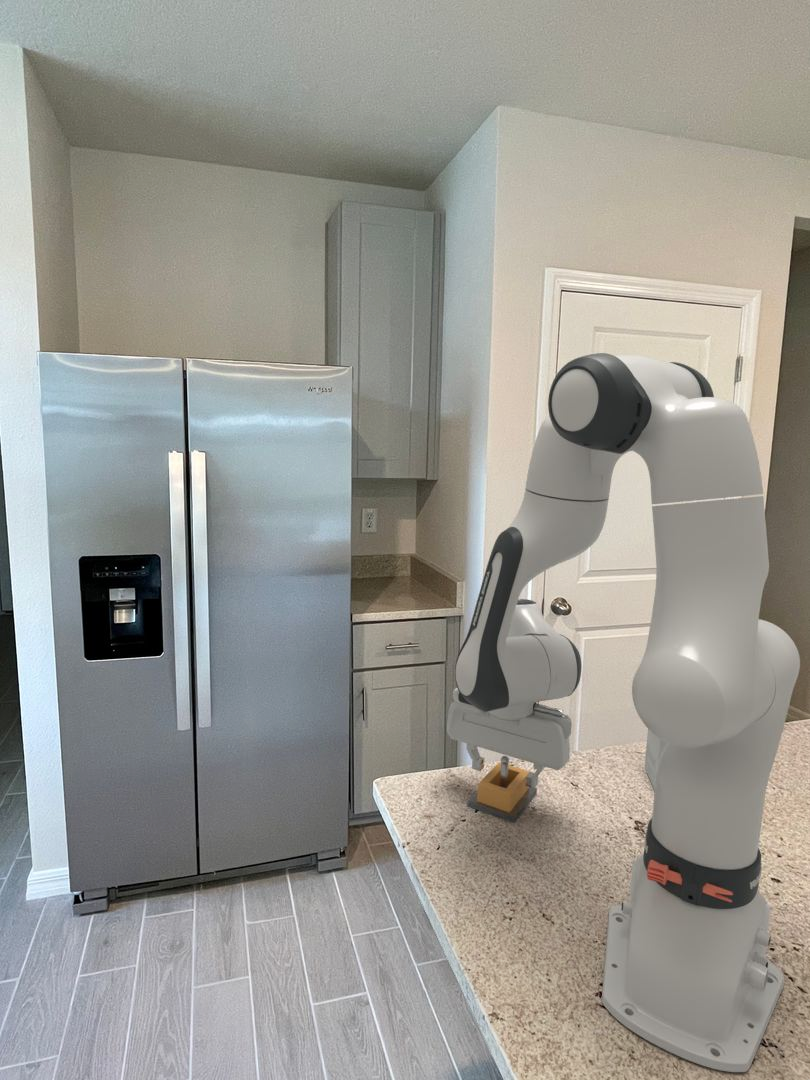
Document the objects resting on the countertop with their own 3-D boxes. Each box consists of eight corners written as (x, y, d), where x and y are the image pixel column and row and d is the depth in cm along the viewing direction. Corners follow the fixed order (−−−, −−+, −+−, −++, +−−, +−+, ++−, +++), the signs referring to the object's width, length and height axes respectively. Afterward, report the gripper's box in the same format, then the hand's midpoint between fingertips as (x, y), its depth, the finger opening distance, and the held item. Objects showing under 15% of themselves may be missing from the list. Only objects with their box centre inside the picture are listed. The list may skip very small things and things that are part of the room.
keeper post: (513, 822, 99) (516, 776, 98) (467, 806, 103) (469, 761, 102) (536, 793, 108) (539, 751, 107) (492, 779, 112) (495, 738, 111)
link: (509, 812, 100) (510, 794, 100) (477, 801, 103) (477, 784, 103) (528, 788, 108) (530, 771, 107) (498, 778, 110) (498, 762, 110)
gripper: (578, 705, 100) (572, 787, 102) (461, 677, 111) (458, 752, 113) (566, 719, 95) (559, 806, 97) (444, 688, 105) (440, 767, 107)
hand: (504, 777), depth 105 cm, fingers open, 8 cm apart
